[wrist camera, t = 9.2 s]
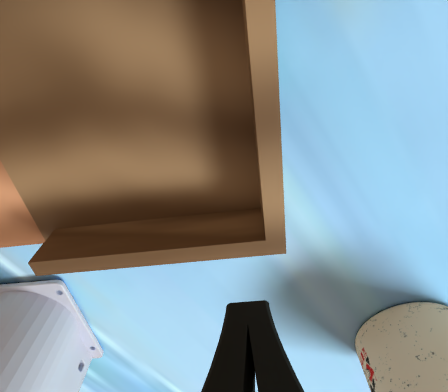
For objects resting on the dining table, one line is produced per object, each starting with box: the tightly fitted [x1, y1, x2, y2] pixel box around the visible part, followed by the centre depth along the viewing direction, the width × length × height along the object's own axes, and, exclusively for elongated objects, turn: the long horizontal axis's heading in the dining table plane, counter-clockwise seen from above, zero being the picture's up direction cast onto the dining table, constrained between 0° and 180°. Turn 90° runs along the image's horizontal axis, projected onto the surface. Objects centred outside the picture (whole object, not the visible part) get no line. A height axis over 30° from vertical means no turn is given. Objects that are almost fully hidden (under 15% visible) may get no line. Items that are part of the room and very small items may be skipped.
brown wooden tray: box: [0, 0, 286, 276], centre depth 15 cm, size 14×23×4 cm, turn 98°
